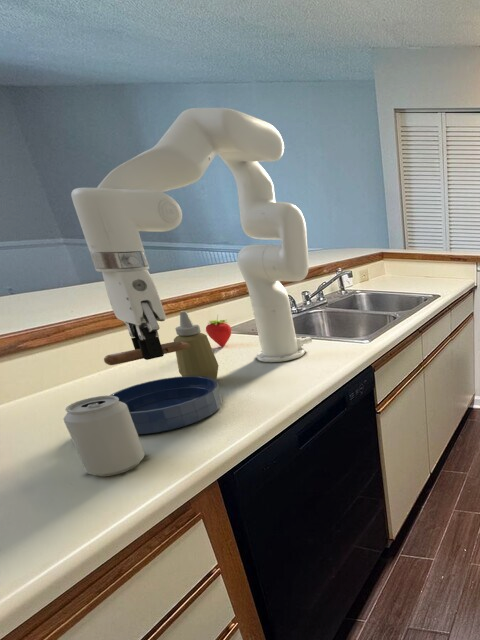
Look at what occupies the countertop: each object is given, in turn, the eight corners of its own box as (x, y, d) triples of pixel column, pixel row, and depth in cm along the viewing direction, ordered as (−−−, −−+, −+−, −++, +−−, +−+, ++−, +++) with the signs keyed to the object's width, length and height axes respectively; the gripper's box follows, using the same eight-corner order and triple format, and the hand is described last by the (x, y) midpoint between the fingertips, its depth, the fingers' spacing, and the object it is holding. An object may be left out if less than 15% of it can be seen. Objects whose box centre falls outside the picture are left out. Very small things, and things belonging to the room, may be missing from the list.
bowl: (195, 389, 101) (189, 370, 100) (241, 407, 93) (235, 387, 91) (91, 421, 86) (82, 398, 84) (135, 446, 77) (125, 422, 75)
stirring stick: (183, 347, 90) (180, 338, 90) (191, 350, 89) (188, 340, 88) (102, 364, 79) (98, 354, 79) (110, 367, 78) (106, 357, 77)
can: (143, 449, 76) (121, 389, 72) (149, 466, 71) (125, 402, 67) (86, 465, 71) (58, 401, 67) (88, 485, 66) (58, 417, 62)
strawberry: (221, 342, 137) (213, 312, 133) (240, 344, 135) (233, 314, 131) (205, 347, 132) (196, 316, 128) (224, 350, 130) (216, 318, 126)
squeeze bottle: (185, 391, 100) (162, 317, 94) (181, 381, 106) (159, 310, 99) (224, 383, 105) (206, 312, 99) (219, 374, 111) (201, 306, 104)
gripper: (166, 262, 77) (192, 358, 84) (126, 257, 84) (154, 346, 91) (114, 266, 71) (147, 369, 78) (76, 260, 78) (109, 355, 85)
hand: (150, 356), depth 84 cm, fingers closed on stirring stick, 2 cm apart
